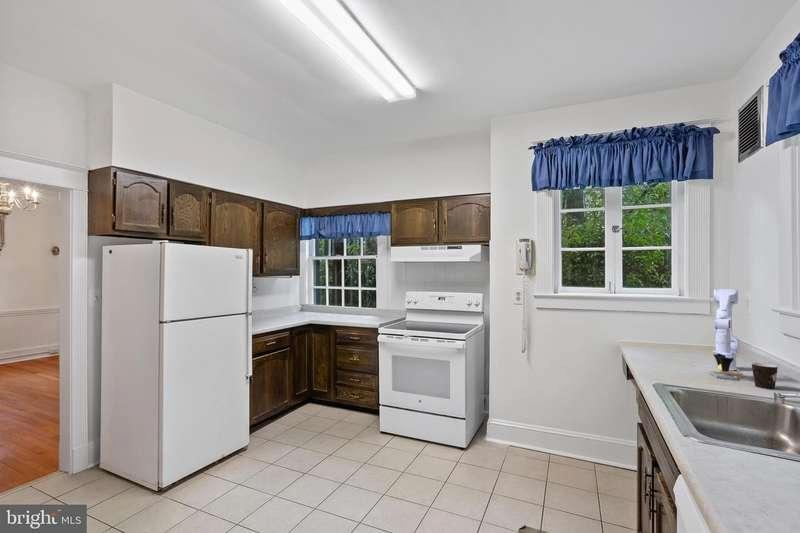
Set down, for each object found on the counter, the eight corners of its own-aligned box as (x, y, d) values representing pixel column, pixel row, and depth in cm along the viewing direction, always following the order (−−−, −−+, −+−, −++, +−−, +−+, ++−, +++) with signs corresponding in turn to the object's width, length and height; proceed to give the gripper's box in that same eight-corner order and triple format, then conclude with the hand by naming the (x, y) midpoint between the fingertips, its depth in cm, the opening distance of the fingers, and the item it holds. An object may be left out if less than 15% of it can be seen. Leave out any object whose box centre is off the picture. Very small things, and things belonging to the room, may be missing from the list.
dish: (718, 372, 199) (718, 369, 199) (739, 374, 196) (739, 371, 196) (725, 375, 192) (725, 373, 192) (746, 377, 188) (746, 374, 188)
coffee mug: (766, 385, 175) (766, 363, 175) (783, 390, 167) (783, 367, 167) (739, 383, 176) (739, 362, 177) (755, 389, 168) (754, 366, 168)
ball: (716, 371, 192) (716, 362, 192) (727, 372, 190) (727, 363, 190) (719, 373, 188) (719, 364, 188) (730, 374, 186) (730, 365, 186)
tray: (710, 373, 195) (709, 371, 195) (729, 375, 192) (729, 372, 192) (717, 378, 186) (717, 375, 186) (737, 380, 183) (737, 377, 183)
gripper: (708, 340, 198) (708, 366, 197) (718, 344, 184) (718, 372, 184) (725, 341, 195) (725, 367, 194) (736, 345, 181) (737, 374, 181)
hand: (723, 370), depth 189 cm, fingers closed on ball, 4 cm apart
